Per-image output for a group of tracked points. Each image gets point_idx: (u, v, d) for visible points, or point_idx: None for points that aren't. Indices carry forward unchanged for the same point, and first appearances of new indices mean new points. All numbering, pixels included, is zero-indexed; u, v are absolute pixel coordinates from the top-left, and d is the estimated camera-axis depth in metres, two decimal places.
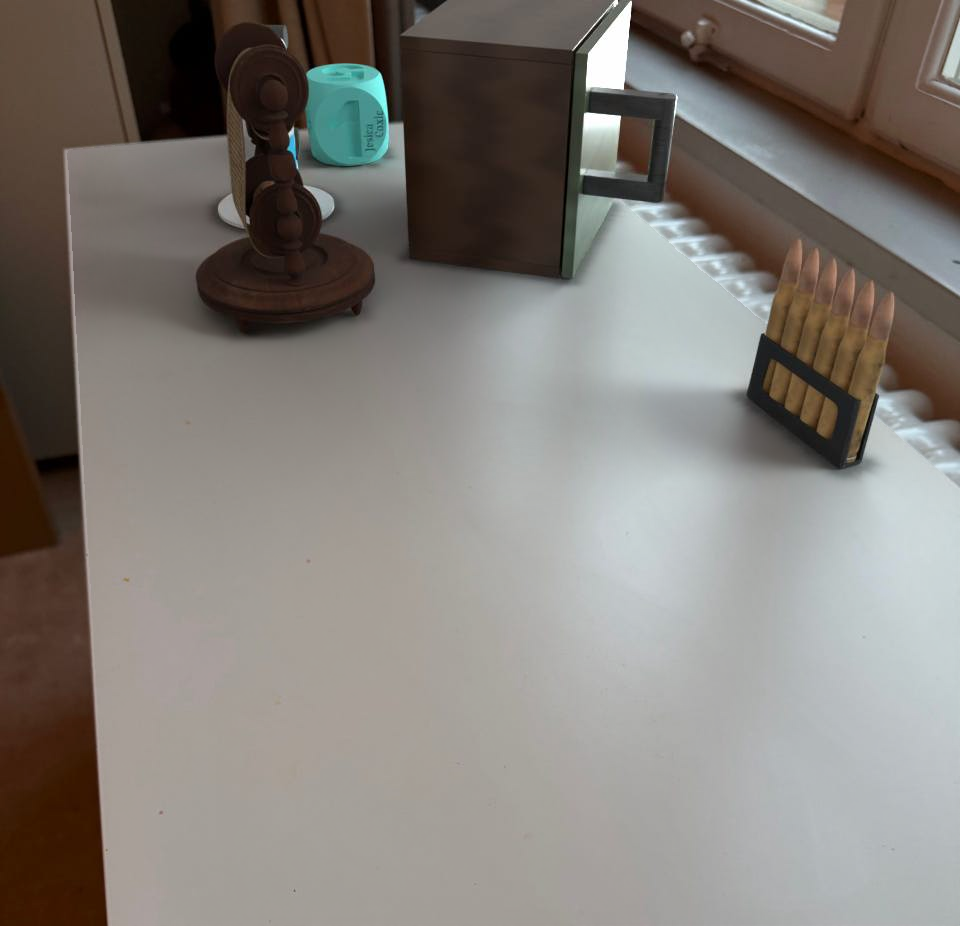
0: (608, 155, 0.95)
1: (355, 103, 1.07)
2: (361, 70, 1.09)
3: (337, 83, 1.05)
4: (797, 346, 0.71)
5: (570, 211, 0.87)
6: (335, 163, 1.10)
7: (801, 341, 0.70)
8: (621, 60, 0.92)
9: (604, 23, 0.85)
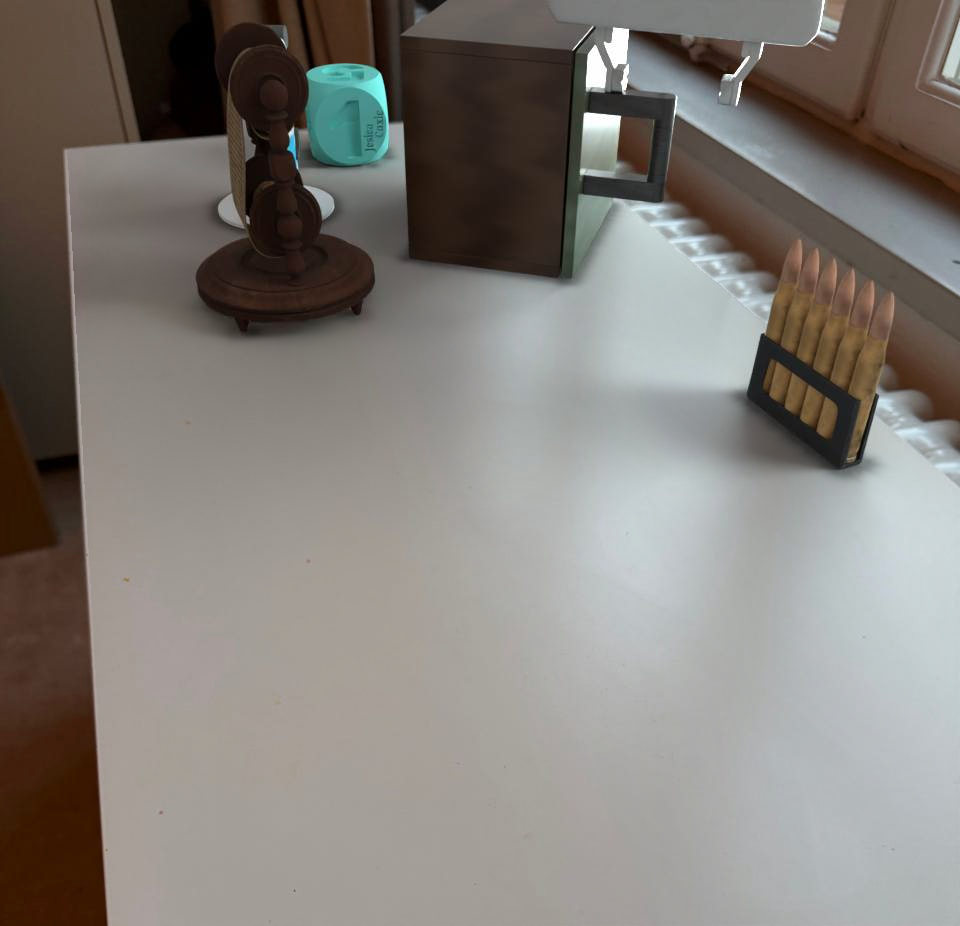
0: (608, 155, 0.95)
1: (355, 103, 1.07)
2: (361, 70, 1.09)
3: (337, 83, 1.05)
4: (797, 346, 0.71)
5: (570, 211, 0.87)
6: (335, 163, 1.10)
7: (801, 341, 0.70)
8: (621, 60, 0.92)
9: None
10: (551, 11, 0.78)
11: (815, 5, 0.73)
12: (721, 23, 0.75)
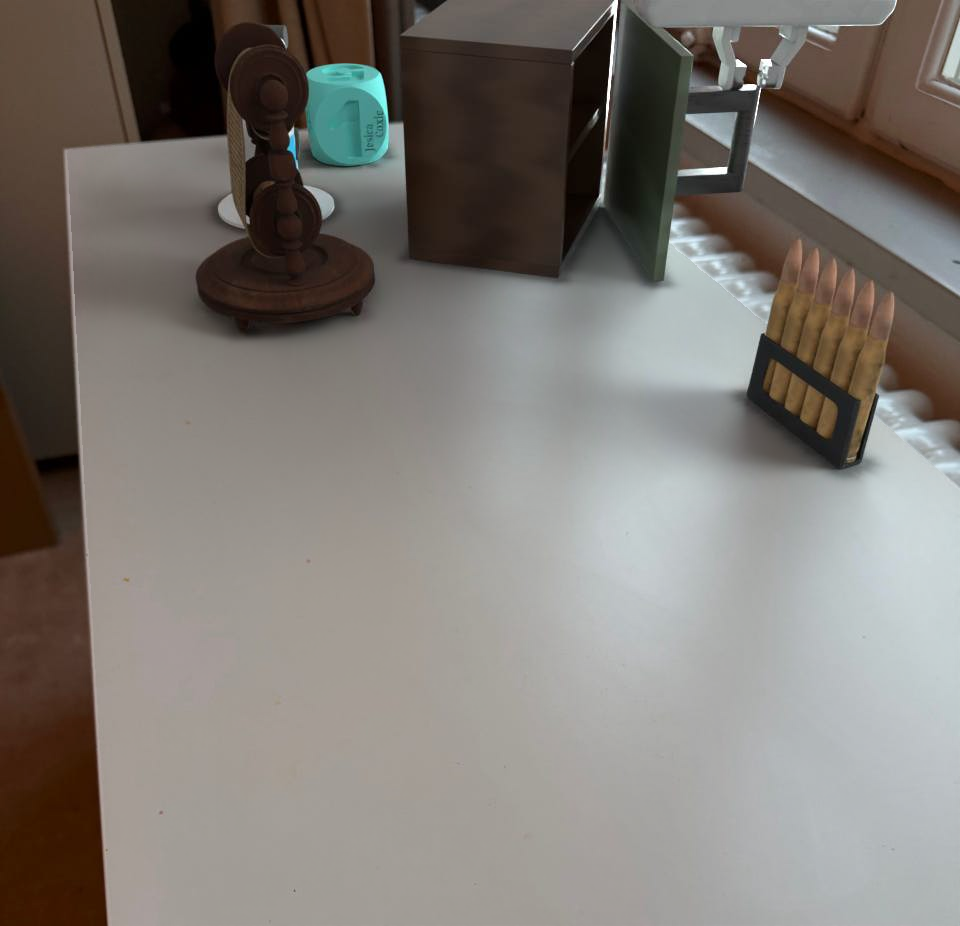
0: None
1: (355, 103, 1.07)
2: (361, 70, 1.09)
3: (337, 83, 1.05)
4: (797, 346, 0.71)
5: (666, 214, 0.86)
6: (335, 163, 1.10)
7: (801, 341, 0.70)
8: None
9: None
10: (650, 16, 0.76)
11: None
12: (812, 11, 0.78)
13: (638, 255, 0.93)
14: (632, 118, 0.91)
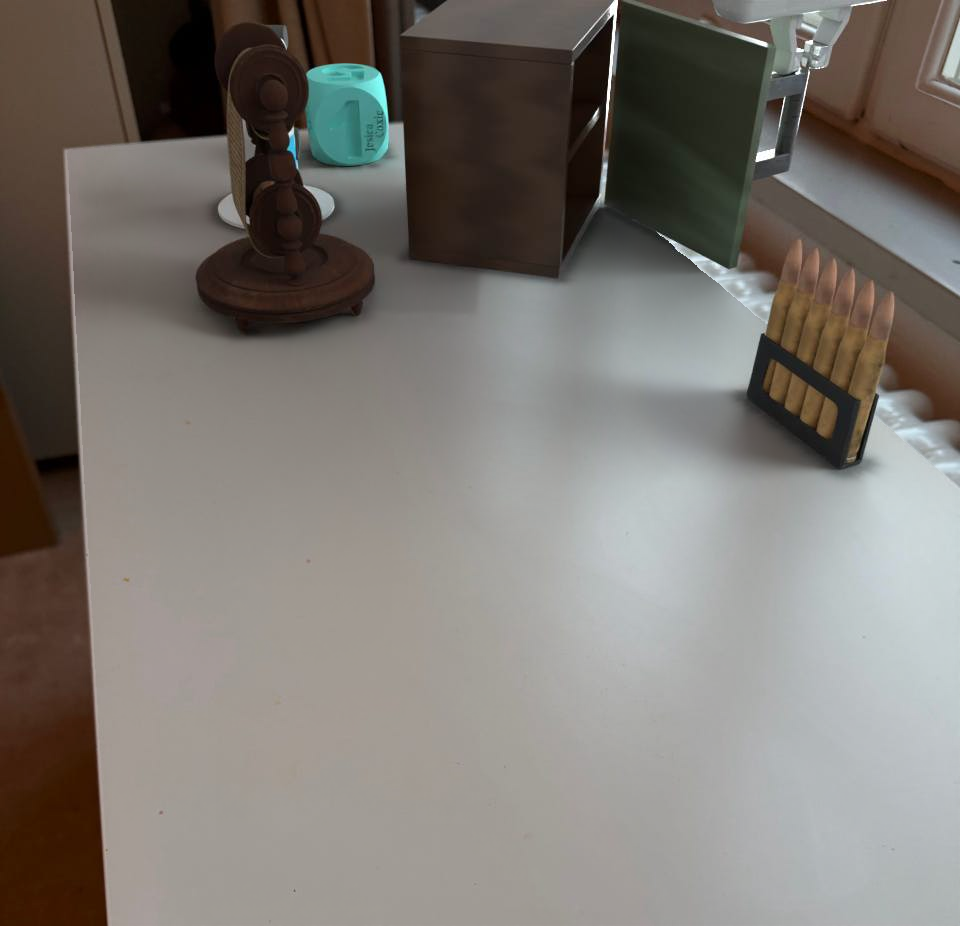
0: None
1: (355, 103, 1.07)
2: (361, 70, 1.09)
3: (337, 83, 1.05)
4: (797, 346, 0.71)
5: (743, 202, 0.88)
6: (335, 163, 1.10)
7: (801, 341, 0.70)
8: None
9: (690, 21, 0.86)
10: (744, 13, 0.78)
11: None
12: None
13: (692, 247, 0.95)
14: (663, 115, 0.92)
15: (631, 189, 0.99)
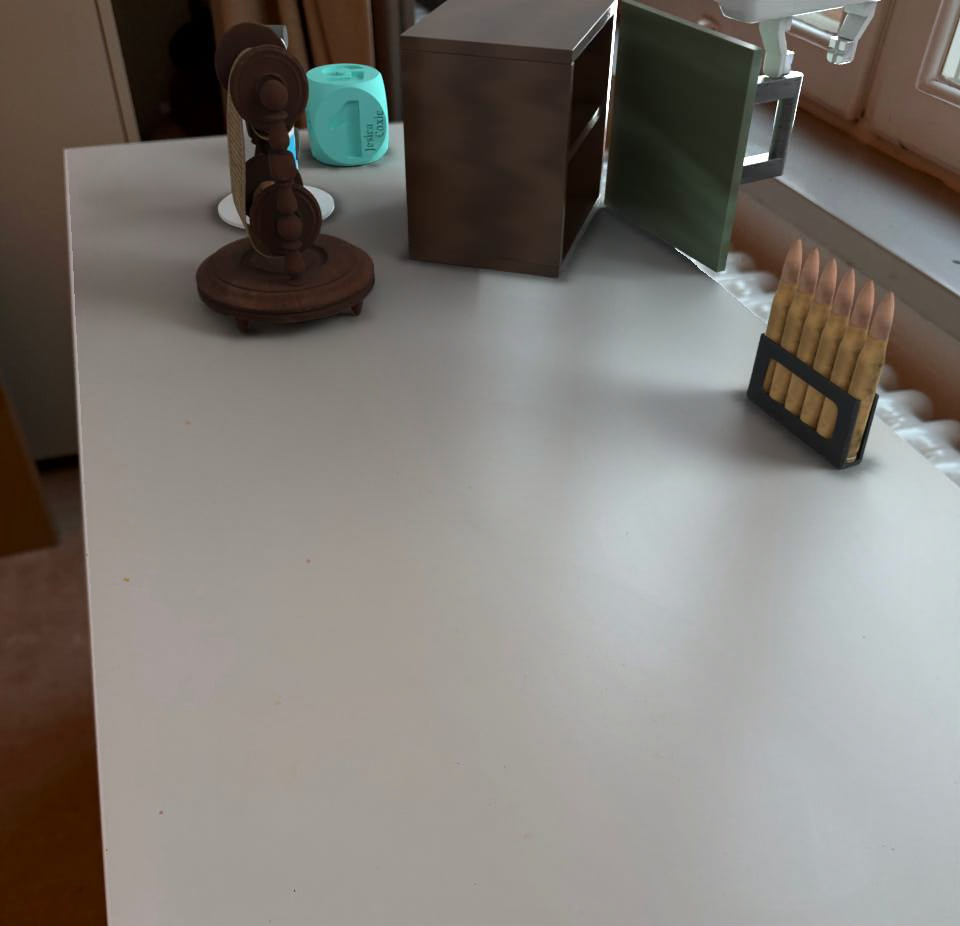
0: None
1: (355, 103, 1.07)
2: (361, 70, 1.09)
3: (337, 83, 1.05)
4: (797, 346, 0.71)
5: (731, 206, 0.88)
6: (335, 163, 1.10)
7: (801, 341, 0.70)
8: None
9: (683, 22, 0.85)
10: (750, 13, 0.78)
11: None
12: None
13: (683, 249, 0.94)
14: (657, 116, 0.92)
15: (628, 189, 0.99)
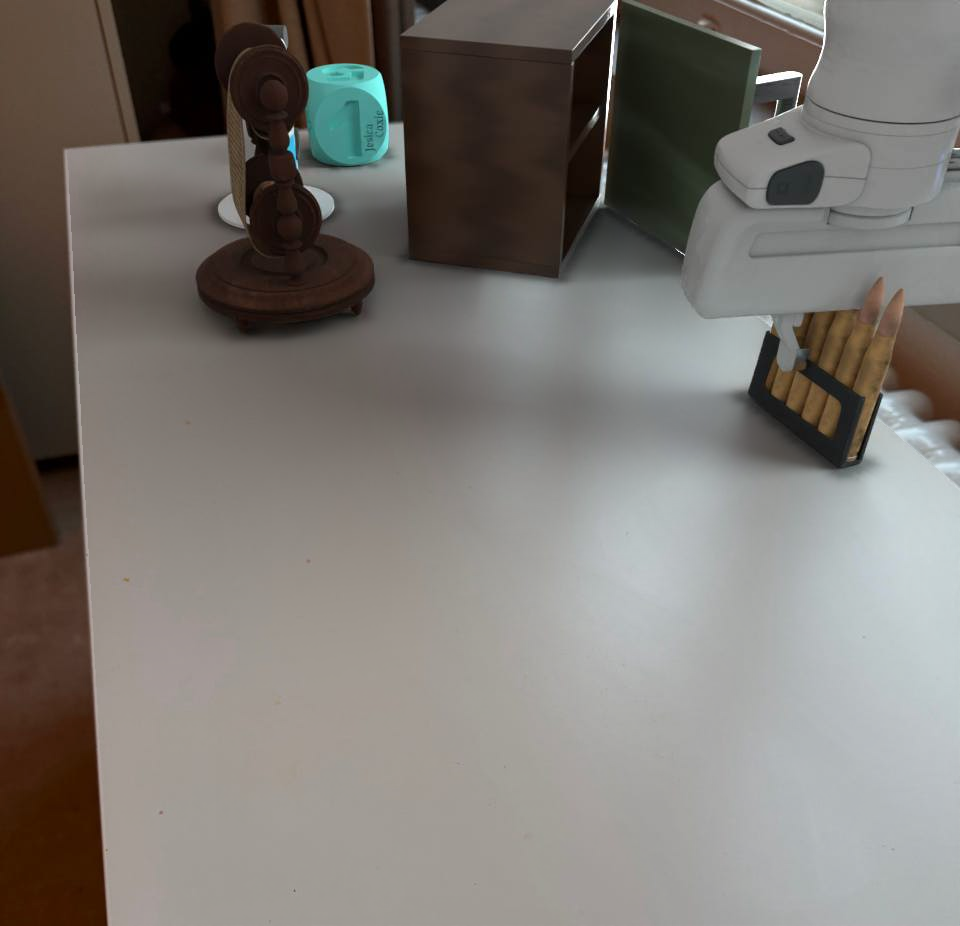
0: None
1: (355, 103, 1.07)
2: (361, 70, 1.09)
3: (337, 83, 1.05)
4: None
5: None
6: (335, 163, 1.10)
7: (807, 338, 0.70)
8: None
9: (683, 22, 0.85)
10: (701, 309, 0.64)
11: None
12: None
13: (682, 250, 0.94)
14: (657, 116, 0.92)
15: (628, 190, 0.99)
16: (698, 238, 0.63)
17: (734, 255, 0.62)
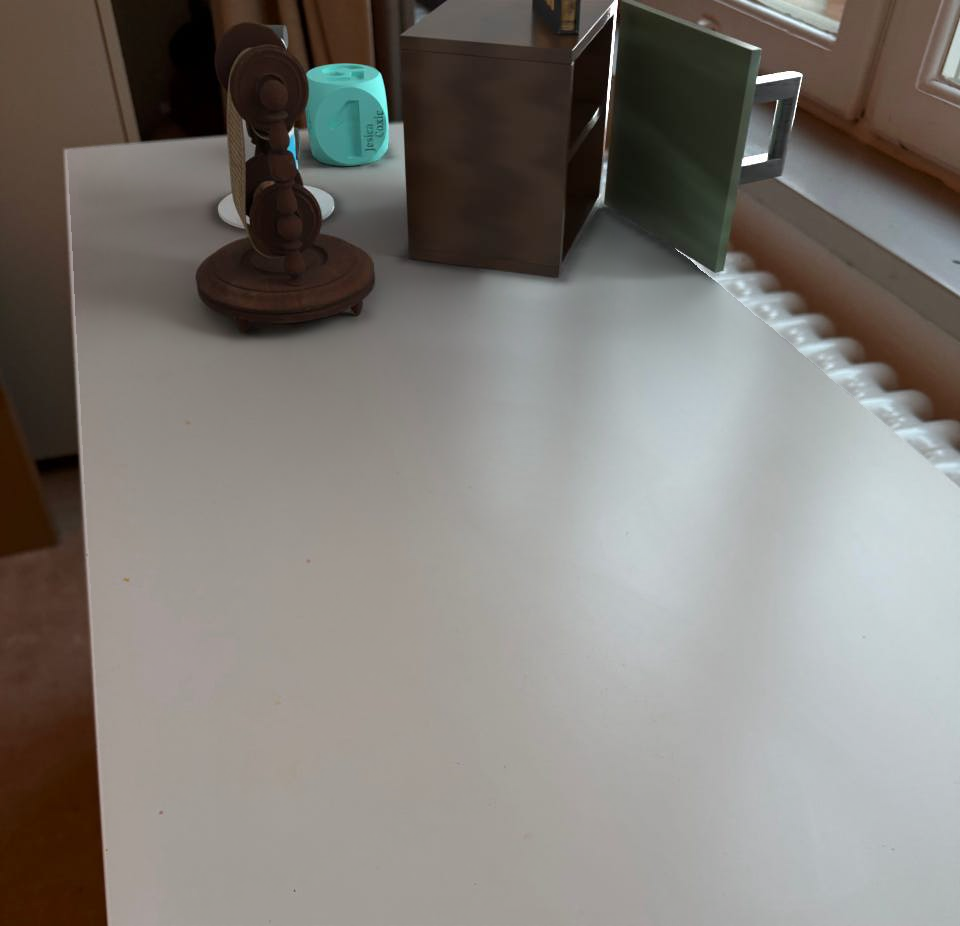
0: None
1: (355, 103, 1.07)
2: (361, 70, 1.09)
3: (337, 83, 1.05)
4: None
5: (729, 206, 0.88)
6: (335, 163, 1.10)
7: None
8: None
9: (683, 22, 0.85)
10: None
11: None
12: None
13: (682, 250, 0.94)
14: (657, 116, 0.92)
15: (628, 190, 0.99)
16: None
17: None
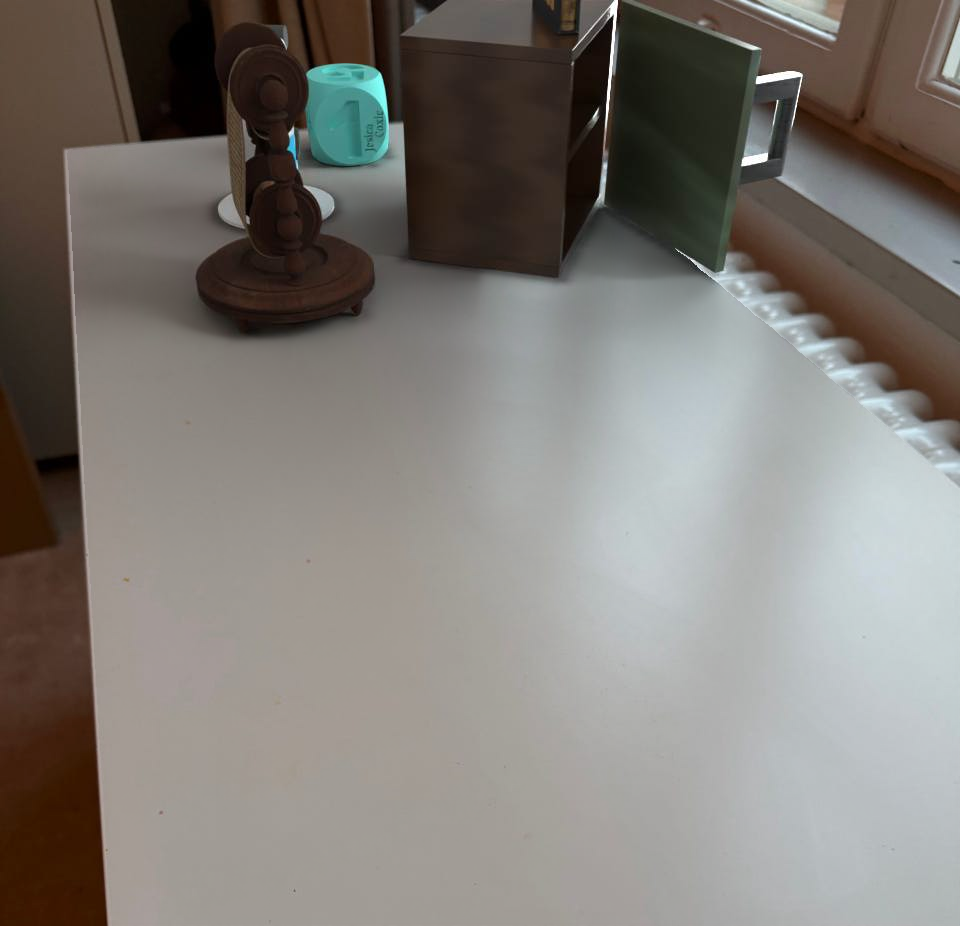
0: None
1: (355, 103, 1.07)
2: (361, 70, 1.09)
3: (337, 83, 1.05)
4: None
5: (729, 206, 0.88)
6: (335, 163, 1.10)
7: None
8: None
9: (683, 22, 0.85)
10: None
11: None
12: None
13: (682, 250, 0.94)
14: (657, 116, 0.92)
15: (628, 190, 0.99)
16: None
17: None
